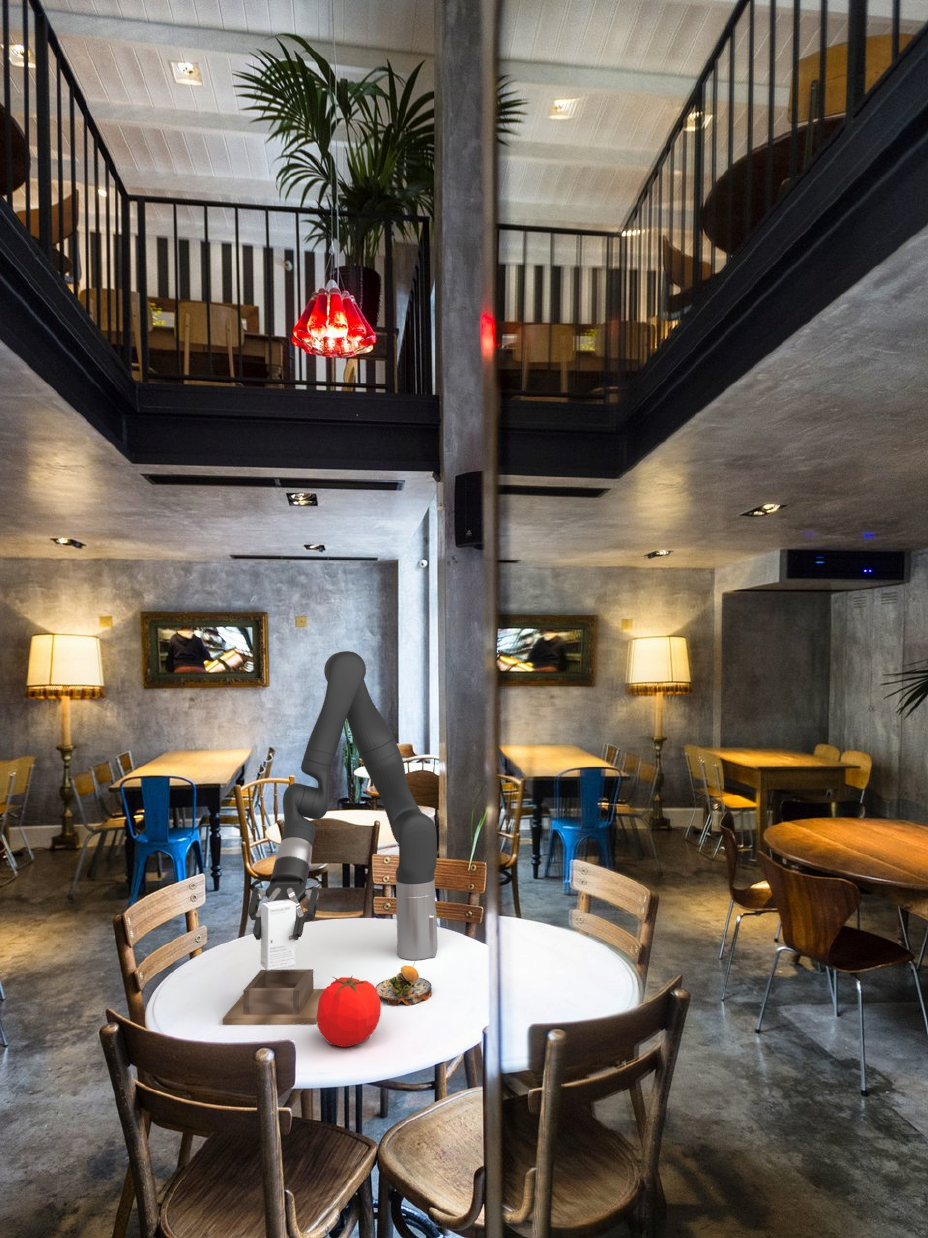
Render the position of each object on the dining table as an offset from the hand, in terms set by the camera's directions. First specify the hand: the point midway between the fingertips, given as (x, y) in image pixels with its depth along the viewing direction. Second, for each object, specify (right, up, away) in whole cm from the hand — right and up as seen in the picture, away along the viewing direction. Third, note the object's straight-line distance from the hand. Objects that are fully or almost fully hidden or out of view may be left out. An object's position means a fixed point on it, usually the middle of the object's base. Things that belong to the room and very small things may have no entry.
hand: (276, 938), depth 156 cm
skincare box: (0, -6, +1) cm, 6 cm away
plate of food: (+25, -15, +6) cm, 30 cm away
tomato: (+17, -13, -15) cm, 26 cm away
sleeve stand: (+1, -14, 0) cm, 14 cm away
